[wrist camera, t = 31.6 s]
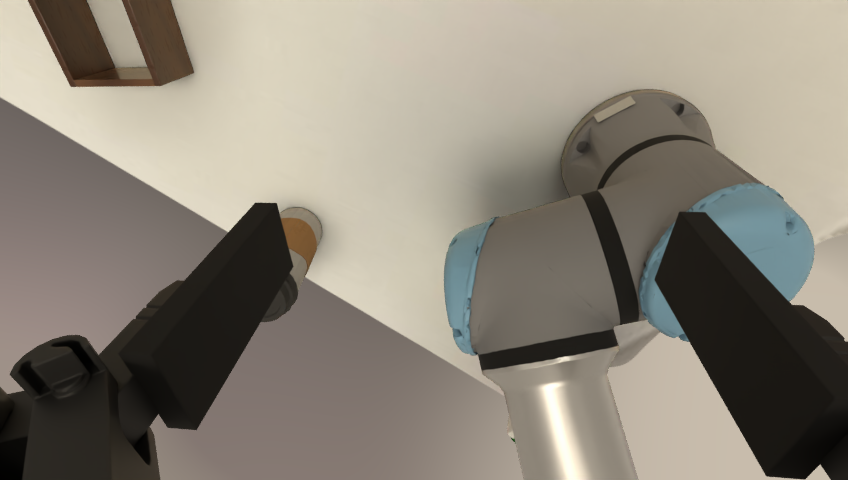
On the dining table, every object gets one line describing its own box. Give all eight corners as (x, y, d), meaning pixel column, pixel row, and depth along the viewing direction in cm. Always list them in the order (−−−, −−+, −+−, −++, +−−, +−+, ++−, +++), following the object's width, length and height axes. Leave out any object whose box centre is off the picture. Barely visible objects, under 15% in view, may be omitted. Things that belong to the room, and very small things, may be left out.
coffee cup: (261, 227, 58) (204, 298, 45) (288, 187, 54) (233, 254, 41) (311, 259, 60) (270, 336, 48) (341, 224, 56) (304, 297, 44)
